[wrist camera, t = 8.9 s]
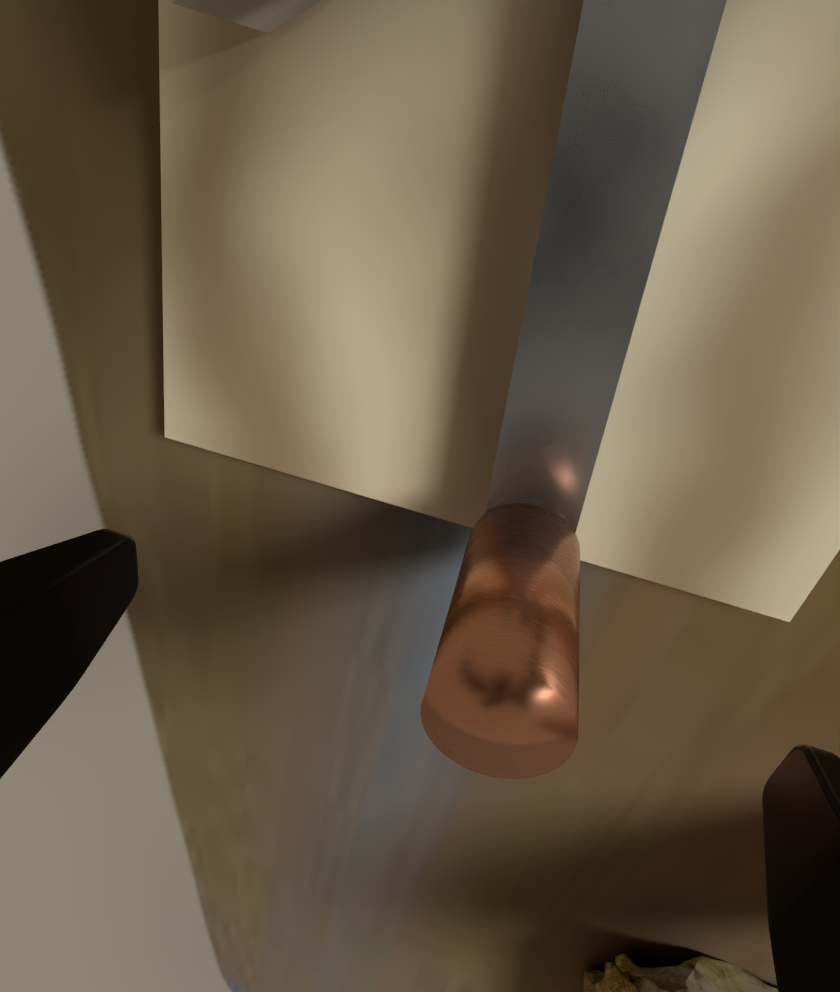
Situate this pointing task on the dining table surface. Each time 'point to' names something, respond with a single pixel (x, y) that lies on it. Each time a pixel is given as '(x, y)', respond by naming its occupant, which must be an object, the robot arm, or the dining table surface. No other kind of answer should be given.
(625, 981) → the rock
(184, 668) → the dining table surface
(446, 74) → the base
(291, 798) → the dining table surface
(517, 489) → the lever
